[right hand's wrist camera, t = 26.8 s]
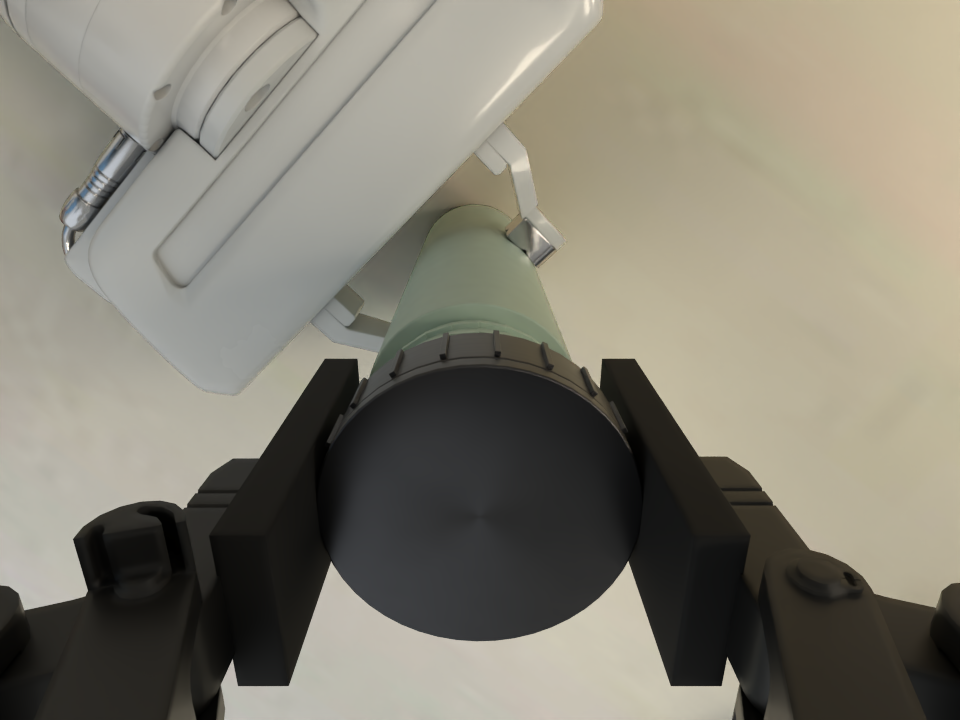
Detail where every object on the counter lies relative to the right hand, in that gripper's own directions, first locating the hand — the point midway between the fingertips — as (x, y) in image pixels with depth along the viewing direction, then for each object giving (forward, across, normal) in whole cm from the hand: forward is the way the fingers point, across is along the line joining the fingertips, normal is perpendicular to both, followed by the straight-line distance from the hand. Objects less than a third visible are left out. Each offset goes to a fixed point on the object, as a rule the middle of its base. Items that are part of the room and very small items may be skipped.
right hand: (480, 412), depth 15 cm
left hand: (+10, 0, 0) cm, 10 cm away
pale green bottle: (+16, 0, 0) cm, 16 cm away
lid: (-4, 0, 0) cm, 4 cm away
